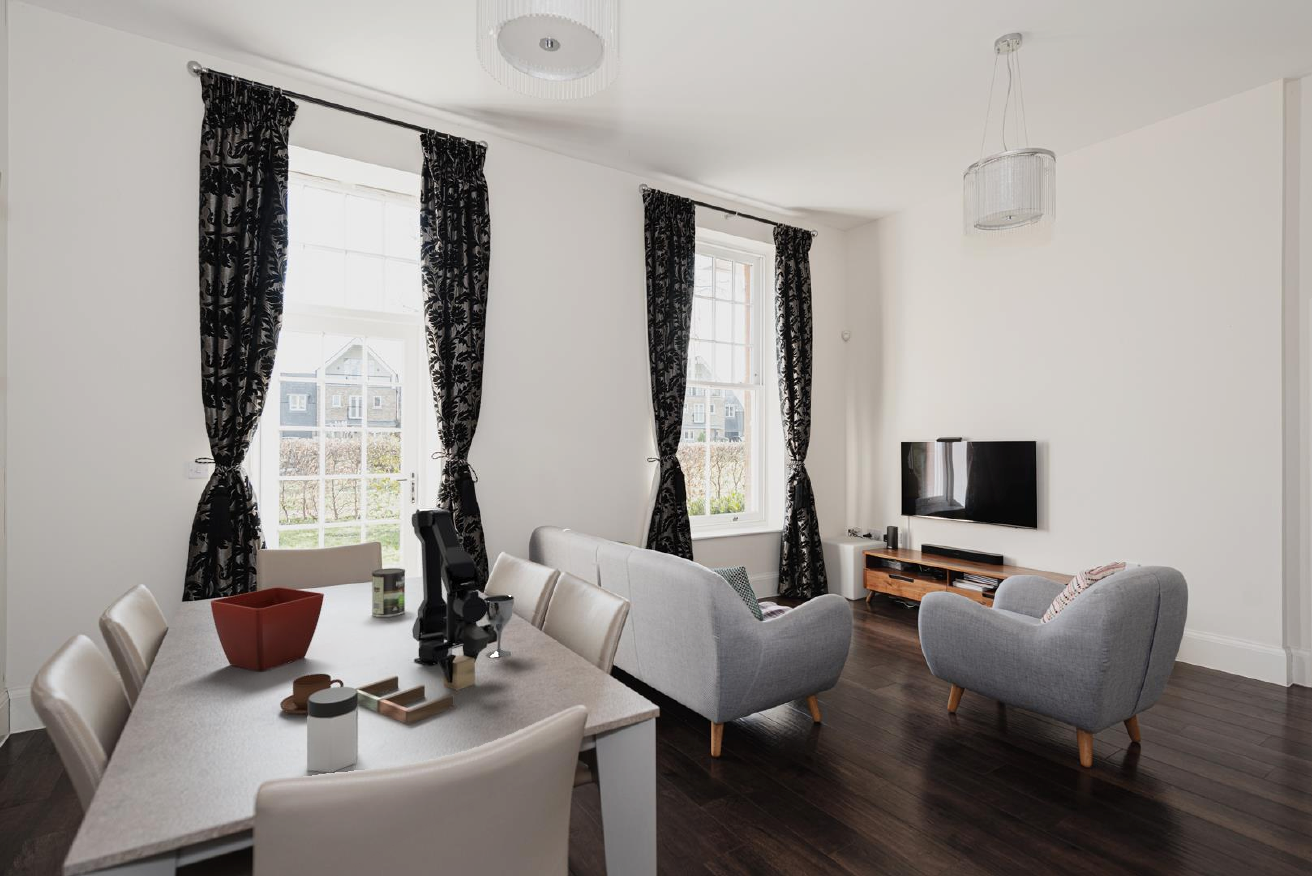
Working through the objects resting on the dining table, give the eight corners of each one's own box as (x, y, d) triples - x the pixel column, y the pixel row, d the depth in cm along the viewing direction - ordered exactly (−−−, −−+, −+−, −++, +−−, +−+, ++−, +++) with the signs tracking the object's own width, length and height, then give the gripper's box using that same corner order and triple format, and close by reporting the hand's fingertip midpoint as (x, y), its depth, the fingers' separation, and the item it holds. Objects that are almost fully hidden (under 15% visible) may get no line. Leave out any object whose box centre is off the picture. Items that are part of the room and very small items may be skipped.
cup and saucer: (327, 693, 156) (327, 666, 156) (352, 706, 148) (352, 678, 148) (270, 709, 146) (270, 680, 146) (295, 724, 139) (295, 694, 139)
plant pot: (326, 656, 182) (326, 592, 182) (258, 678, 165) (258, 608, 165) (277, 646, 190) (277, 586, 190) (208, 667, 173) (208, 601, 173)
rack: (351, 701, 150) (351, 690, 150) (395, 686, 159) (395, 675, 159) (408, 724, 138) (408, 712, 138) (453, 707, 147) (453, 695, 147)
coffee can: (409, 609, 232) (409, 568, 232) (397, 617, 222) (397, 574, 222) (379, 609, 232) (379, 567, 232) (366, 617, 222) (366, 573, 222)
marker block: (443, 685, 160) (443, 659, 160) (461, 679, 164) (461, 654, 164) (457, 690, 157) (457, 664, 157) (474, 683, 161) (474, 658, 161)
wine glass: (519, 651, 186) (519, 596, 186) (503, 660, 179) (504, 602, 179) (494, 648, 189) (494, 594, 189) (477, 656, 181) (477, 600, 181)
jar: (347, 746, 128) (347, 682, 128) (368, 759, 123) (368, 693, 123) (297, 763, 122) (297, 696, 122) (317, 778, 116) (317, 707, 116)
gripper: (448, 627, 149) (448, 699, 148) (512, 609, 164) (512, 675, 164) (417, 619, 155) (417, 688, 155) (481, 603, 170) (481, 666, 170)
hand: (459, 679), depth 161 cm, fingers closed on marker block, 5 cm apart
